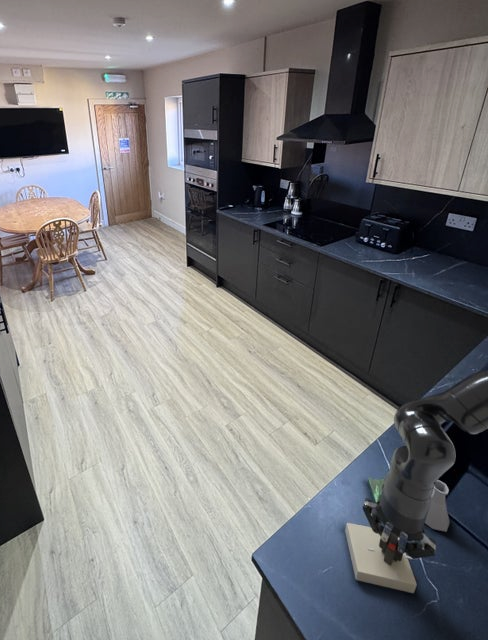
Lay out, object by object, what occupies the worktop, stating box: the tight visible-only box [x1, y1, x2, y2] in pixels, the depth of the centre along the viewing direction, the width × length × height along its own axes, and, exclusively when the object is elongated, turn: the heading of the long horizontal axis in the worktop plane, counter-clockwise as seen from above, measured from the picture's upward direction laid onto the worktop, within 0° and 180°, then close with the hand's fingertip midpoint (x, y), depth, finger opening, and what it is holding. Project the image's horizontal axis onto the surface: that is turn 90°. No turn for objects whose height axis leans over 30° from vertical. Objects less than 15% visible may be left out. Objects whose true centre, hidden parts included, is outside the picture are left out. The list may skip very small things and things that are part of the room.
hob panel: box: [344, 522, 418, 594], centre depth 70 cm, size 12×9×3 cm
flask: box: [424, 479, 451, 533], centre depth 77 cm, size 7×7×10 cm
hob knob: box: [384, 533, 398, 566], centre depth 69 cm, size 5×1×5 cm, turn 139°
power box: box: [366, 477, 386, 518], centre depth 81 cm, size 8×8×4 cm
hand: (389, 552), depth 69 cm, fingers closed
